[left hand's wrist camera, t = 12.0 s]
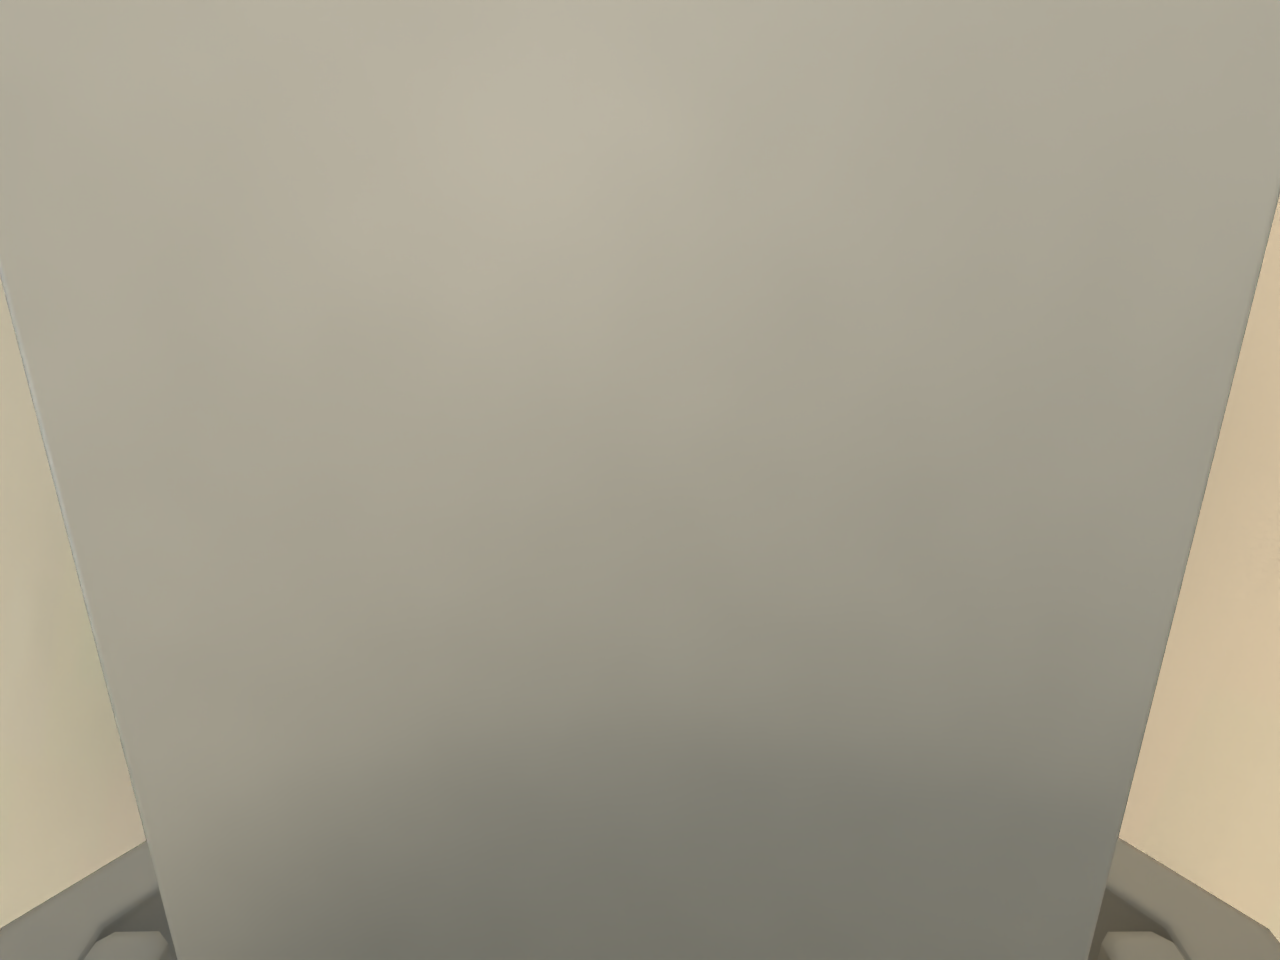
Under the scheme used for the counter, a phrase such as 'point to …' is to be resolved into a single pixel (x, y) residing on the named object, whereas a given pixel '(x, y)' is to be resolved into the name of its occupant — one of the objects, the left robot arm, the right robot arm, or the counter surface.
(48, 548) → the counter surface
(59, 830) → the counter surface
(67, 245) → the bar
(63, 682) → the counter surface
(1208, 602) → the counter surface
